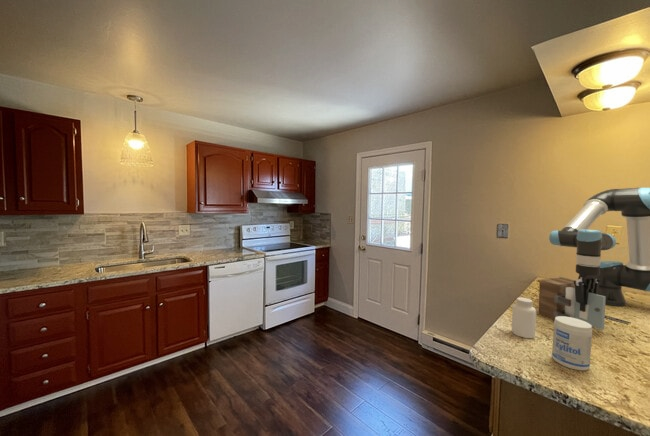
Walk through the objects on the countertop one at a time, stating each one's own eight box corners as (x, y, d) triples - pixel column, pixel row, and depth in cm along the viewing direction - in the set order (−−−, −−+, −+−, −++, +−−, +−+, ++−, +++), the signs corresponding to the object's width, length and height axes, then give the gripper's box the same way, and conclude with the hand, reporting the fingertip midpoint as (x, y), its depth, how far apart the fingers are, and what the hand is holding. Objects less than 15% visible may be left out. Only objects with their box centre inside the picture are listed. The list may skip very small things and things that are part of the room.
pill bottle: (529, 340, 106) (530, 304, 105) (507, 332, 113) (508, 297, 112) (539, 336, 109) (540, 300, 109) (517, 328, 116) (518, 295, 116)
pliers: (576, 306, 142) (633, 319, 125) (576, 307, 142) (633, 320, 125) (571, 309, 136) (629, 324, 120) (571, 311, 136) (629, 326, 120)
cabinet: (560, 309, 138) (561, 277, 137) (595, 321, 124) (597, 285, 123) (534, 313, 133) (535, 279, 132) (568, 326, 119) (569, 288, 118)
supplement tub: (552, 364, 90) (553, 321, 89) (551, 352, 97) (553, 313, 97) (592, 375, 84) (594, 330, 83) (588, 362, 91) (590, 320, 90)
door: (568, 316, 123) (569, 286, 123) (605, 329, 111) (607, 296, 110) (562, 317, 122) (563, 287, 122) (599, 330, 109) (601, 297, 109)
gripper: (588, 262, 120) (586, 313, 121) (565, 264, 116) (563, 316, 117) (610, 265, 113) (607, 319, 114) (586, 268, 109) (584, 323, 110)
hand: (585, 318), depth 116 cm, fingers closed on door, 2 cm apart
